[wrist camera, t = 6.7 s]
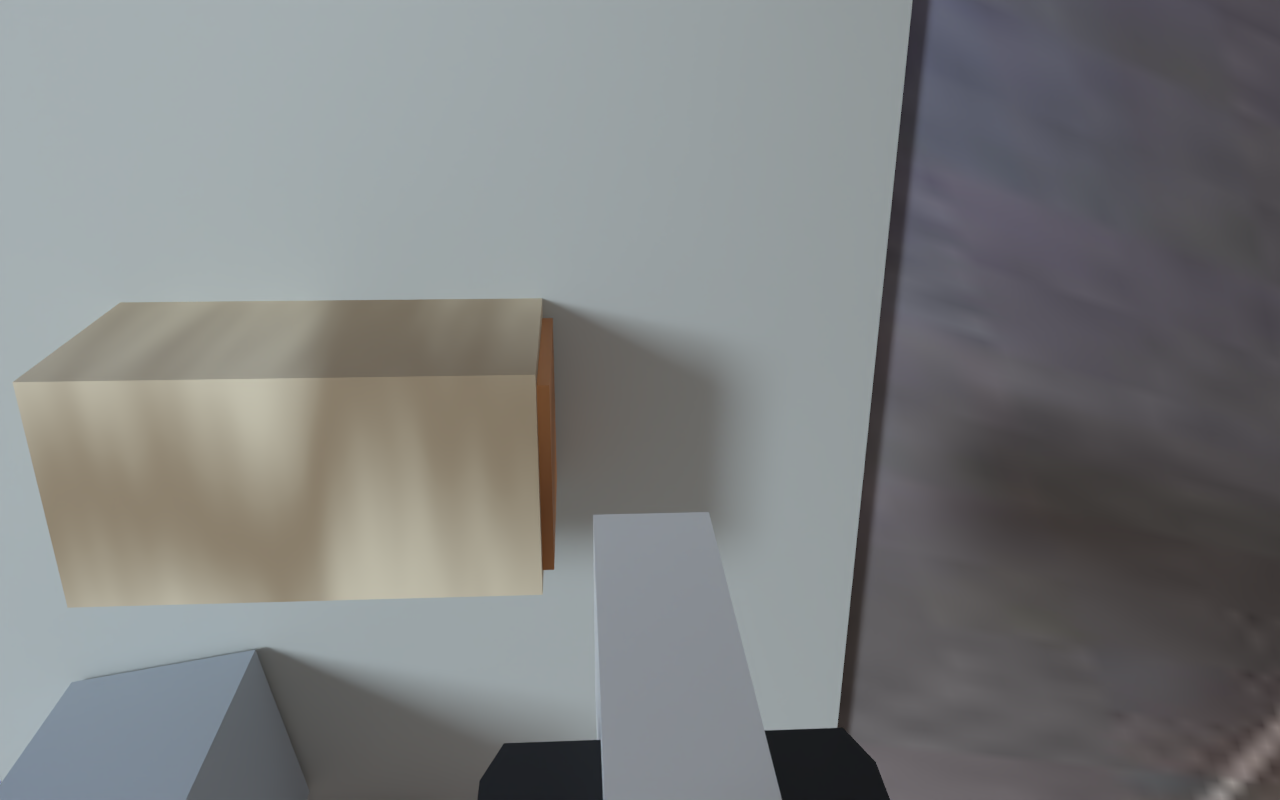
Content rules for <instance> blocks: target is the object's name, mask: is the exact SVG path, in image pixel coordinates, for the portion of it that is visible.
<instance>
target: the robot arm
mask: <svg viewBox="0 0 1280 800" xmlns="http://www.w3.org/2000/svg"><path fill="white" fill-rule="evenodd" d="M593 552H594V640H595V701H596V730H597V740H579V741H552V742H525V743H504V744H503V745H502V747H501V749H500V750H499V752H498V753H497V755H496V756H495V758H494V759H493V761H492V762H491V764H490V765H489V767H488V768H487V770H486V772H485V773H484V775H483V776H482V778H481V779H480V781H479V790H478V798H477V800H890V799H889V796H888V793H887V791H886V788H885V786H884V783H883V780H882V778H881V775H880V773H879V770H878V767H877V765H876V762H875V761H874V760H873V759H872V758H871V757H870V756H869V755H868V754H867V753H866V752H865V751H864V750H863V749H862V747H861V746H860V745H859V744H858V743H857V742H856V741H855V740H854V739H853V738H852V737H851V736H850V735H849V734H848V733H847V732H846V731H845V730H844V729H843V728H819V729H792V730H764V727H763V723H762V719H761V715H760V711H759V707H758V703H757V699H756V695H755V692H754V688H753V684H752V680H751V676H750V672H749V668H748V664H747V660H746V656H745V652H744V648H743V644H742V640H741V636H740V633H739V629H738V625H737V621H736V617H735V613H734V609H733V605H732V601H731V597H730V593H729V589H728V585H727V581H726V577H725V573H724V570H723V566H722V562H721V558H720V554H719V550H718V546H717V542H716V538H715V534H714V530H713V526H712V522H711V518H710V514H709V512H688V513H645V514H603V515H593Z"/></svg>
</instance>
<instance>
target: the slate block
mask: <svg viewBox="0 0 1280 800" xmlns="http://www.w3.org/2000/svg"><path fill="white" fill-rule="evenodd" d="M309 792H310V791H309V788H308V786H307V783H306V780H305V778H304V775H303V773H302V770H301V767H300V765H299V762H298V760H297V757H296V754H295V752H294V749H293V747H292V744H291V741H290V739H289V736H288V734H287V731H286V728H285V726H284V723H283V720H282V718H281V715H280V713H279V710H278V707H277V705H276V702H275V700H274V697H273V694H272V692H271V689H270V687H269V684H268V681H267V679H266V676H265V674H264V671H263V668H262V666H261V663H260V661H259V658H258V655H257V653H256V650H250V651H245V652H239V653H233V654H228V655H222V656H217V657H211V658H205V659H200V660H194V661H188V662H183V663H177V664H171V665H166V666H160V667H154V668H149V669H143V670H138V671H132V672H126V673H121V674H115V675H109V676H104V677H98V678H92V679H87V680H81V681H75V682H71V684H70V685H69V687H68V688H67V690H66V691H65V692H64V694H63V695H62V697H61V698H60V700H59V701H58V702H57V704H56V705H55V707H54V708H53V710H52V711H51V712H50V714H49V715H48V717H47V718H46V720H45V721H44V722H43V724H42V725H41V727H40V728H39V730H38V731H37V732H36V734H35V735H34V737H33V738H32V740H31V741H30V742H29V744H28V745H27V747H26V748H25V750H24V751H23V752H22V754H21V755H20V757H19V758H18V760H17V761H16V762H15V764H14V765H13V767H12V768H11V770H10V771H9V772H8V774H7V775H6V777H5V778H4V780H3V781H2V782H1V784H0V800H307V798H308V795H309Z"/></svg>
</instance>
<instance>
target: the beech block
mask: <svg viewBox="0 0 1280 800" xmlns="http://www.w3.org/2000/svg"><path fill="white" fill-rule="evenodd" d="M12 383H13V387H14V391H15V395H16V399H17V403H18V407H19V411H20V415H21V419H22V423H23V428H24V432H25V436H26V440H27V444H28V448H29V452H30V456H31V460H32V464H33V468H34V473H35V477H36V481H37V485H38V489H39V493H40V497H41V501H42V505H43V509H44V513H45V518H46V522H47V526H48V530H49V534H50V538H51V542H52V546H53V550H54V554H55V558H56V562H57V567H58V571H59V575H60V579H61V583H62V587H63V591H64V595H65V599H66V603H67V607H68V608H74V607H111V606H148V605H185V604H222V603H259V602H296V601H333V600H370V599H407V598H445V597H482V596H519V595H543V576H544V570H554V563H555V528H556V493H557V463H556V424H555V384H554V345H553V318H543V310H542V298H520V299H418V300H317V301H215V302H120V303H119V304H117V305H116V306H115V307H113V308H112V309H111V310H109V311H108V312H107V313H105V314H104V315H102V316H101V317H100V318H98V319H97V320H96V321H94V322H93V323H92V324H90V325H89V326H88V327H86V328H85V329H84V330H82V331H81V332H80V333H78V334H77V335H75V336H74V337H73V338H71V339H70V340H69V341H67V342H66V343H65V344H63V345H62V346H61V347H59V348H58V349H57V350H55V351H54V352H53V353H51V354H50V355H48V356H47V357H46V358H44V359H43V360H42V361H40V362H39V363H38V364H36V365H35V366H34V367H32V368H31V369H30V370H28V371H27V372H26V373H24V374H23V375H22V376H20V377H19V378H17V379H16V380H15V381H13V382H12Z"/></svg>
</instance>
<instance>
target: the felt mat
mask: <svg viewBox="0 0 1280 800" xmlns="http://www.w3.org/2000/svg"><path fill="white" fill-rule="evenodd" d="M912 2H913V0H0V780H1V782H2V781H3V780H4V778H5V777H6V775H7V774H8V772H9V771H10V770H11V768H12V767H13V765H14V764H15V762H16V761H17V760H18V758H19V757H20V755H21V754H22V752H23V751H24V750H25V748H26V747H27V745H28V744H29V742H30V741H31V740H32V738H33V737H34V735H35V734H36V732H37V731H38V730H39V728H40V727H41V725H42V724H43V722H44V721H45V720H46V718H47V717H48V715H49V714H50V712H51V711H52V710H53V708H54V707H55V705H56V704H57V702H58V701H59V700H60V698H61V697H62V695H63V694H64V692H65V691H66V690H67V688H68V687H69V685H70V684H71V682H75V681H81V680H87V679H92V678H98V677H104V676H109V675H115V674H121V673H126V672H132V671H138V670H143V669H149V668H154V667H160V666H166V665H171V664H177V663H183V662H188V661H194V660H200V659H205V658H211V657H217V656H222V655H228V654H233V653H239V652H245V651H250V650H256V653H257V655H258V658H259V661H260V663H261V666H262V668H263V671H264V674H265V676H266V679H267V681H268V684H269V687H270V689H271V692H272V694H273V697H274V700H275V702H276V705H277V707H278V710H279V713H280V715H281V718H282V720H283V723H284V726H285V728H286V731H287V734H288V736H289V739H290V741H291V744H292V747H293V749H294V752H295V754H296V757H297V760H298V762H299V765H300V767H301V770H302V773H303V775H304V778H305V780H306V783H307V786H308V788H309V791H310V792H309V795H308V798H307V800H477V798H478V790H479V781H480V779H481V778H482V776H483V775H484V773H485V772H486V770H487V768H488V767H489V765H490V764H491V762H492V761H493V759H494V758H495V756H496V755H497V753H498V752H499V750H500V749H501V747H502V745H503V744H504V743H525V742H552V741H579V740H597V730H596V701H595V640H594V552H593V515H603V514H645V513H688V512H709V514H710V518H711V522H712V526H713V530H714V534H715V538H716V542H717V546H718V550H719V554H720V558H721V562H722V566H723V570H724V573H725V577H726V581H727V585H728V589H729V593H730V597H731V601H732V605H733V609H734V613H735V617H736V621H737V625H738V629H739V633H740V636H741V640H742V644H743V648H744V652H745V656H746V660H747V664H748V668H749V672H750V676H751V680H752V684H753V688H754V692H755V695H756V699H757V703H758V707H759V711H760V715H761V719H762V723H763V727H764V730H792V729H819V728H837V725H838V716H839V706H840V697H841V687H842V677H843V668H844V658H845V648H846V639H847V629H848V619H849V610H850V600H851V590H852V581H853V571H854V561H855V552H856V542H857V532H858V523H859V513H860V504H861V494H862V484H863V475H864V465H865V455H866V446H867V436H868V426H869V417H870V407H871V397H872V388H873V378H874V368H875V359H876V349H877V339H878V330H879V320H880V311H881V301H882V291H883V282H884V272H885V262H886V253H887V243H888V233H889V224H890V214H891V204H892V195H893V185H894V175H895V166H896V156H897V147H898V137H899V127H900V118H901V108H902V98H903V89H904V79H905V69H906V60H907V50H908V40H909V31H910V21H911V11H912ZM520 298H542V310H543V318H553V345H554V384H555V424H556V463H557V493H556V528H555V563H554V570H544V576H543V595H519V596H482V597H445V598H407V599H370V600H333V601H296V602H259V603H222V604H185V605H148V606H111V607H74V608H68V607H67V603H66V599H65V595H64V591H63V587H62V583H61V579H60V575H59V571H58V567H57V562H56V558H55V554H54V550H53V546H52V542H51V538H50V534H49V530H48V526H47V522H46V518H45V513H44V509H43V505H42V501H41V497H40V493H39V489H38V485H37V481H36V477H35V473H34V468H33V464H32V460H31V456H30V452H29V448H28V444H27V440H26V436H25V432H24V428H23V423H22V419H21V415H20V411H19V407H18V403H17V399H16V395H15V391H14V387H13V383H12V382H13V381H15V380H16V379H17V378H19V377H20V376H22V375H23V374H24V373H26V372H27V371H28V370H30V369H31V368H32V367H34V366H35V365H36V364H38V363H39V362H40V361H42V360H43V359H44V358H46V357H47V356H48V355H50V354H51V353H53V352H54V351H55V350H57V349H58V348H59V347H61V346H62V345H63V344H65V343H66V342H67V341H69V340H70V339H71V338H73V337H74V336H75V335H77V334H78V333H80V332H81V331H82V330H84V329H85V328H86V327H88V326H89V325H90V324H92V323H93V322H94V321H96V320H97V319H98V318H100V317H101V316H102V315H104V314H105V313H107V312H108V311H109V310H111V309H112V308H113V307H115V306H116V305H117V304H119V303H120V302H215V301H317V300H418V299H520Z"/></svg>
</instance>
